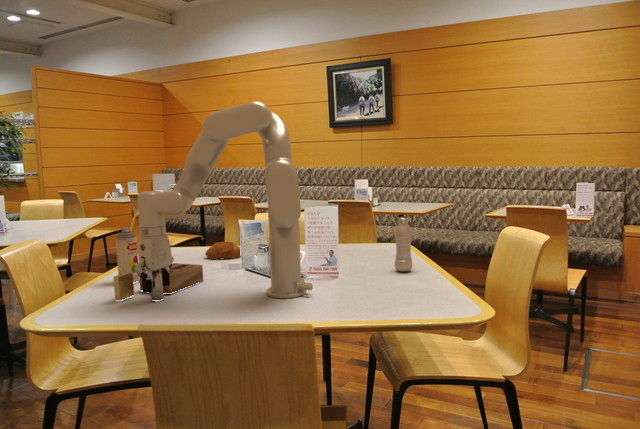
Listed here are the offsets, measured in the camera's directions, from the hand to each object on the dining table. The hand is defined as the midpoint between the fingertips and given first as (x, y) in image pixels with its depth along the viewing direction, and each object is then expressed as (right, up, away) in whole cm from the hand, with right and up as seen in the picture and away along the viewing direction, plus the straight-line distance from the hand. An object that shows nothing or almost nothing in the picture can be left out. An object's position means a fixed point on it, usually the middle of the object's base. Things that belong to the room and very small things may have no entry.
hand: (156, 288), depth 153 cm
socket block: (0, -2, +16) cm, 17 cm away
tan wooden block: (-11, -4, +3) cm, 12 cm away
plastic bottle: (+81, +2, +30) cm, 86 cm away
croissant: (+8, +4, +66) cm, 67 cm away
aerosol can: (-17, -2, +24) cm, 29 cm away
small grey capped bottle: (0, -4, 0) cm, 4 cm away
